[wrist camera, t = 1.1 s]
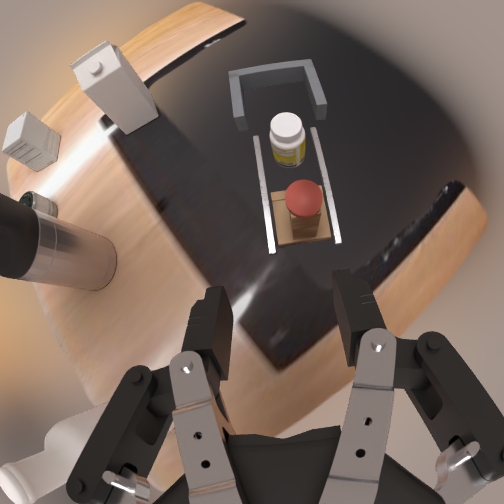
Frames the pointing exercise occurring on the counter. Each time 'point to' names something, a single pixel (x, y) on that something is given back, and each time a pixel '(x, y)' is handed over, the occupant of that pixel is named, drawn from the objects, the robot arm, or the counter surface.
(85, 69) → the milk carton
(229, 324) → the robot arm
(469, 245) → the counter surface
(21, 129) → the supplement box
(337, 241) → the track
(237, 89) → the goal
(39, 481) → the bottle
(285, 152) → the supplement bottle
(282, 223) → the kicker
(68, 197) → the counter surface
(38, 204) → the camera lens
